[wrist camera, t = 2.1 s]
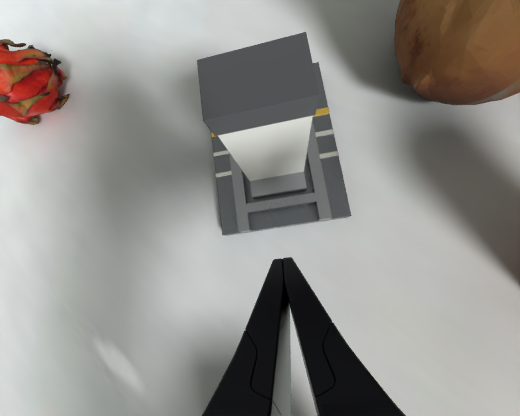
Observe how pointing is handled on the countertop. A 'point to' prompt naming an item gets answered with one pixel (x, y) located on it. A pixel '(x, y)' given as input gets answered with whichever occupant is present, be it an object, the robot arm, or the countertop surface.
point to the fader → (263, 110)
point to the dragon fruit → (28, 83)
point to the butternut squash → (459, 49)
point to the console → (290, 204)
